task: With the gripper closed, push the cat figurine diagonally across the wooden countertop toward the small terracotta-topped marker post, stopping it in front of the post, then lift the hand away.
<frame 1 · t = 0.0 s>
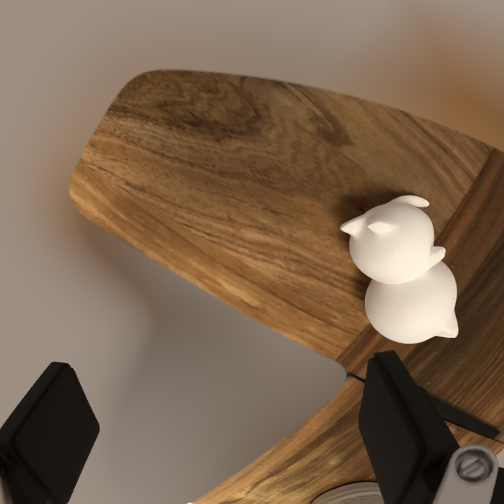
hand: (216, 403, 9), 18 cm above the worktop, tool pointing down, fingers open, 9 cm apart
jar: (347, 498, 39), on the worktop
cat figurine: (392, 253, 27), on the worktop
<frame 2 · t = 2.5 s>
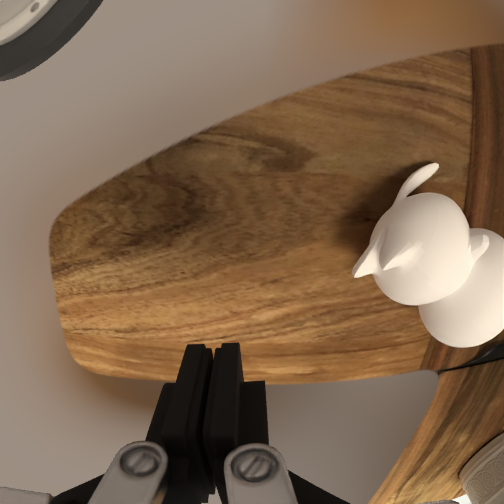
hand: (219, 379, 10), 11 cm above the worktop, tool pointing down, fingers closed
jar: (490, 453, 31), on the worktop
cat figurine: (426, 241, 21), on the worktop
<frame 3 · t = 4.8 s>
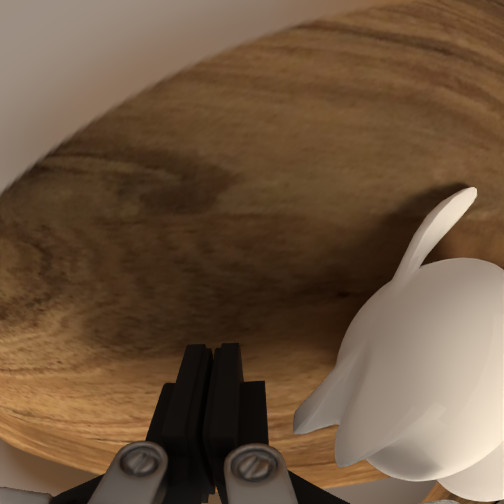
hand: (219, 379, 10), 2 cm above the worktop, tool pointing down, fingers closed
cat figurine: (446, 319, 12), on the worktop, touching gripper
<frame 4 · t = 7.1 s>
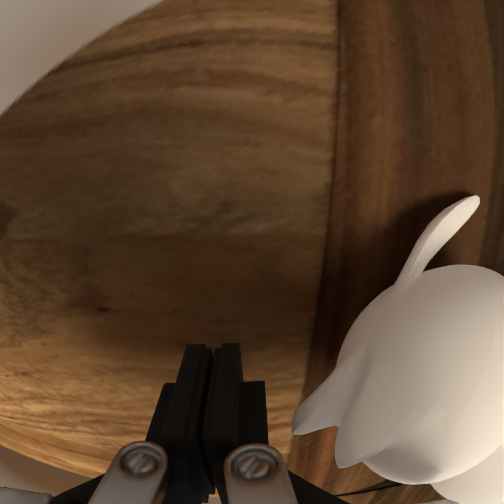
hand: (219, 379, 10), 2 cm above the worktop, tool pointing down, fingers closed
cat figurine: (444, 325, 12), on the worktop, touching gripper
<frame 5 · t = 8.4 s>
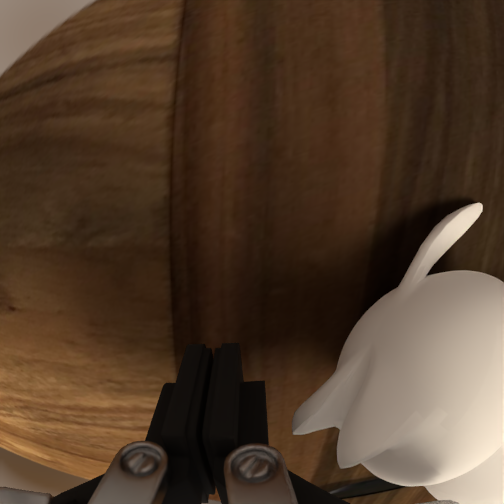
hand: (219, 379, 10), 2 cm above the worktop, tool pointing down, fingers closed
cat figurine: (443, 330, 12), on the worktop, touching gripper
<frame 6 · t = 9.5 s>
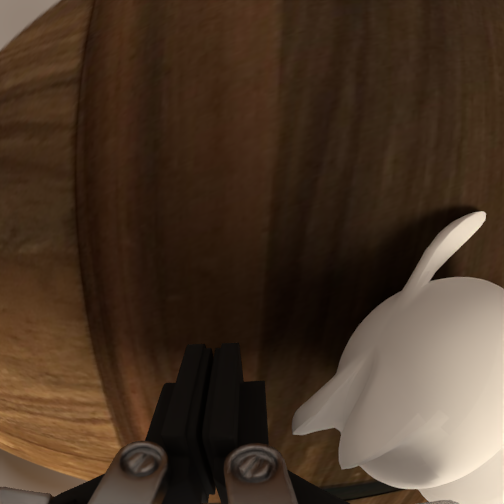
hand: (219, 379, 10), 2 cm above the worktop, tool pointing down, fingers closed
cat figurine: (441, 336, 12), on the worktop, touching gripper
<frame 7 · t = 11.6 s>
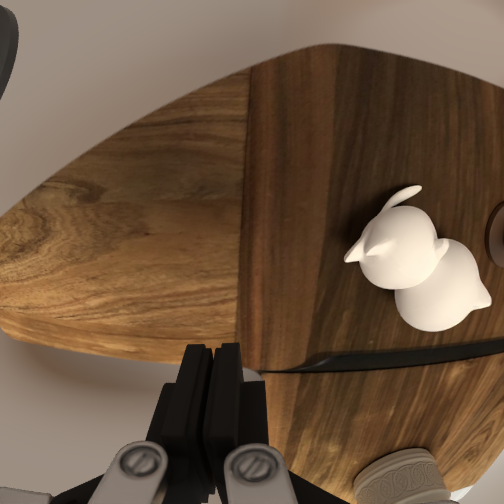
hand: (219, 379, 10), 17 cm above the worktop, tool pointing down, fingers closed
jar: (392, 471, 36), on the worktop
cat figurine: (407, 247, 27), on the worktop
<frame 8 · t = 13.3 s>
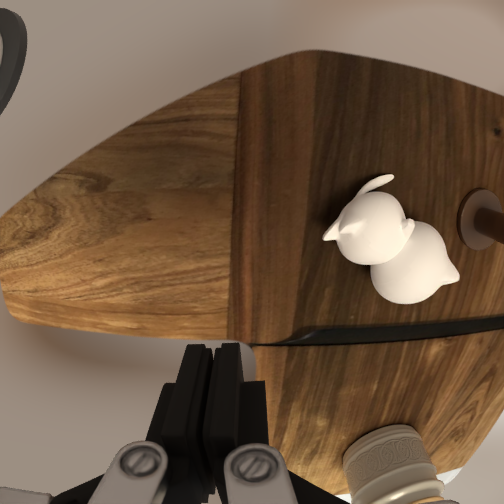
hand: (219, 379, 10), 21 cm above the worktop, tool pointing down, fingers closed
marker post: (478, 219, 30), on the worktop
jar: (380, 448, 41), on the worktop
cat figurine: (382, 230, 30), on the worktop
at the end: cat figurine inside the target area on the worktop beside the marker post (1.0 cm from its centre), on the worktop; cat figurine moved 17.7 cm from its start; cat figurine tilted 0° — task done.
